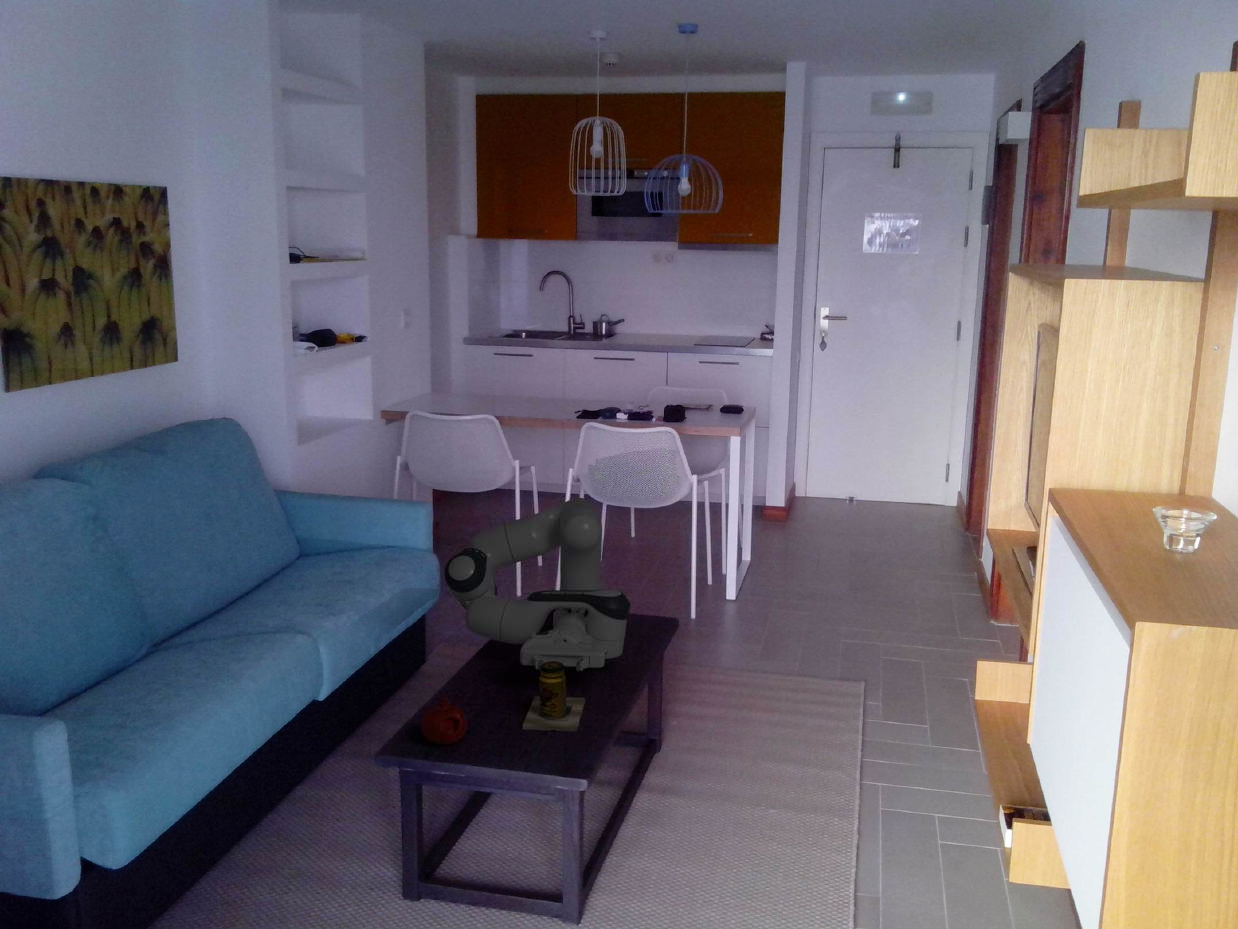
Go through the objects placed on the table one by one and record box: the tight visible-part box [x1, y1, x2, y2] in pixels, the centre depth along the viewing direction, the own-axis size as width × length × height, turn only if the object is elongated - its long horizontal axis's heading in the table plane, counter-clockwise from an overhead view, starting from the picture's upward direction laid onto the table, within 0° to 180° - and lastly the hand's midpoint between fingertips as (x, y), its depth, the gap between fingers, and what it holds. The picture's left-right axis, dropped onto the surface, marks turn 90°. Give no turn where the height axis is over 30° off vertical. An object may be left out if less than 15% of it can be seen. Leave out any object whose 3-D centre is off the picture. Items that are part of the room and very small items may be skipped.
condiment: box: [536, 661, 573, 721], centre depth 237 cm, size 7×8×12 cm
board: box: [522, 695, 586, 732], centre depth 239 cm, size 16×12×1 cm
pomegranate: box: [420, 696, 468, 746], centre depth 227 cm, size 10×10×9 cm
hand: (558, 667), depth 242 cm, fingers open, 8 cm apart
